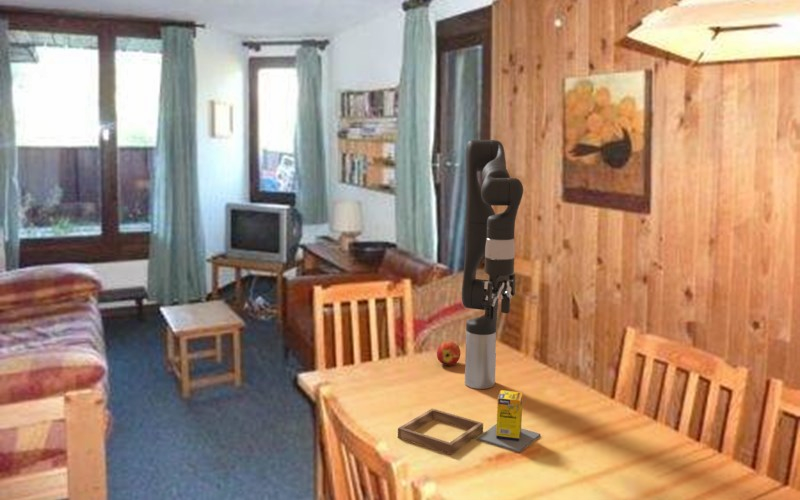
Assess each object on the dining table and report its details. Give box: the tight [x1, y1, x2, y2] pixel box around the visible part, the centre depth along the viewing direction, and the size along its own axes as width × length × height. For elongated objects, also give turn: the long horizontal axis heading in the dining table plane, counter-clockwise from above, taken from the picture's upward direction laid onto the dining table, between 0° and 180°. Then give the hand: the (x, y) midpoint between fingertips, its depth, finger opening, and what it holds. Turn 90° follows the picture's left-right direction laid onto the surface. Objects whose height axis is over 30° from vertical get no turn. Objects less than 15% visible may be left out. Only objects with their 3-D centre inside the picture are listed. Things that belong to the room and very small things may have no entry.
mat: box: [476, 423, 541, 454], centre depth 176 cm, size 12×12×1 cm
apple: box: [436, 340, 461, 366], centre depth 232 cm, size 8×8×8 cm
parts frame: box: [397, 408, 484, 455], centre depth 178 cm, size 16×16×2 cm
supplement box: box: [496, 389, 524, 441], centre depth 176 cm, size 6×6×11 cm
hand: (497, 316), depth 179 cm, fingers open, 8 cm apart
